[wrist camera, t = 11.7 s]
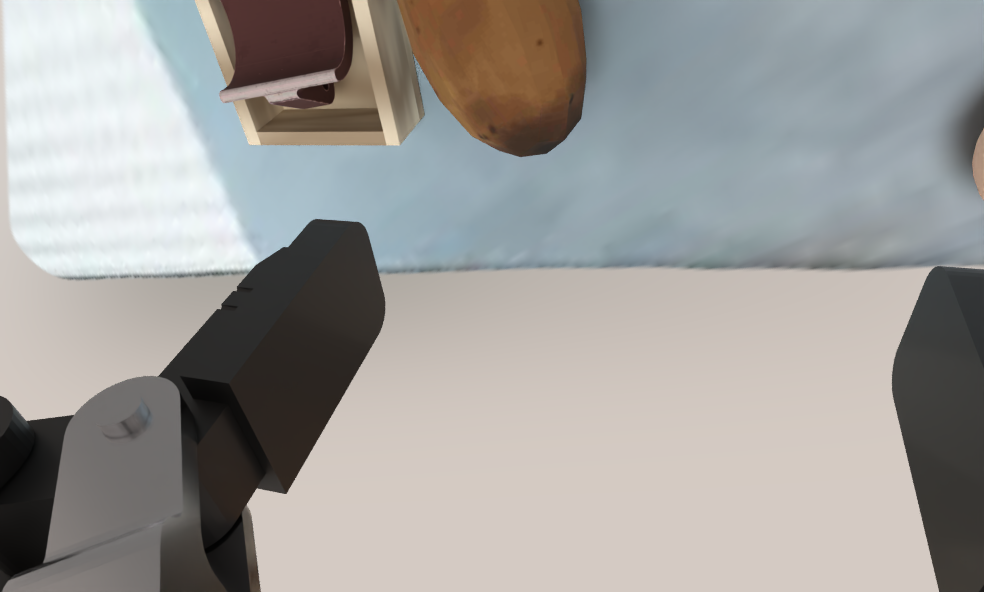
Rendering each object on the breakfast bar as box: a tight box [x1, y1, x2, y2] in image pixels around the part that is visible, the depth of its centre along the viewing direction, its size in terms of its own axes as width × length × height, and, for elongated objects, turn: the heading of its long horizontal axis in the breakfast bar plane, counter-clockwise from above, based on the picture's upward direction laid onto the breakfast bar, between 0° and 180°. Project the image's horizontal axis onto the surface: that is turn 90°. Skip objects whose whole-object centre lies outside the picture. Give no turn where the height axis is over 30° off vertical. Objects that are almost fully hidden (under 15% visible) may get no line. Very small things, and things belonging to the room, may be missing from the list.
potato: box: [397, 0, 586, 157], centre depth 31 cm, size 8×14×8 cm
